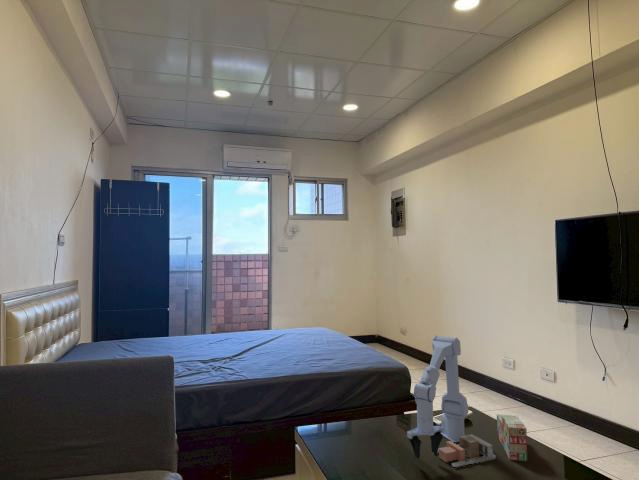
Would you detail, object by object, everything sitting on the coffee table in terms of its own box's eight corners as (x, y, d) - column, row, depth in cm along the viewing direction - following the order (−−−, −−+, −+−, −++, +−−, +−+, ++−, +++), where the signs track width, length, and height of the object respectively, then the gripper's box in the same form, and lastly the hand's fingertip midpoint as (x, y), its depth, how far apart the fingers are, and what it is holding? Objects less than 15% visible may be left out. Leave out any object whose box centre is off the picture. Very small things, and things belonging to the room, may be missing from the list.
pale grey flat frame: (432, 452, 158) (431, 440, 158) (471, 444, 165) (470, 433, 165) (454, 468, 146) (454, 455, 146) (495, 458, 152) (495, 446, 153)
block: (459, 452, 158) (459, 436, 158) (467, 450, 160) (467, 434, 160) (470, 459, 152) (470, 442, 153) (479, 457, 154) (478, 441, 154)
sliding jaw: (435, 455, 155) (435, 443, 155) (451, 451, 158) (451, 440, 158) (449, 464, 148) (449, 452, 148) (465, 461, 150) (465, 449, 151)
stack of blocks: (497, 436, 172) (496, 406, 173) (513, 437, 171) (512, 407, 172) (509, 460, 152) (508, 426, 152) (527, 462, 150) (526, 427, 151)
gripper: (414, 424, 143) (415, 463, 143) (448, 418, 149) (449, 456, 148) (403, 417, 150) (404, 454, 149) (436, 411, 155) (436, 448, 154)
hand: (425, 455), depth 149 cm, fingers open, 7 cm apart
